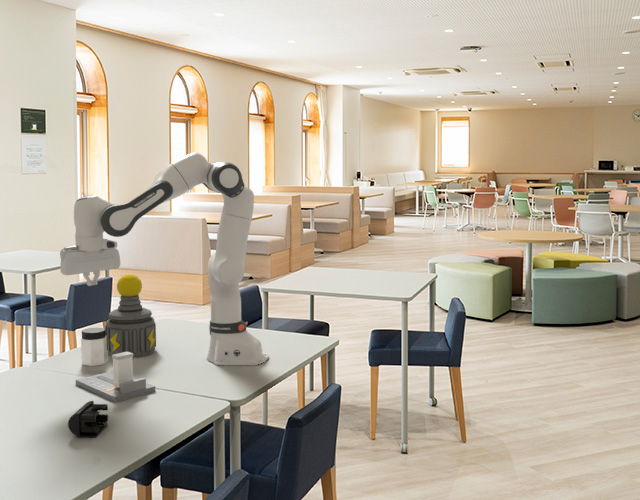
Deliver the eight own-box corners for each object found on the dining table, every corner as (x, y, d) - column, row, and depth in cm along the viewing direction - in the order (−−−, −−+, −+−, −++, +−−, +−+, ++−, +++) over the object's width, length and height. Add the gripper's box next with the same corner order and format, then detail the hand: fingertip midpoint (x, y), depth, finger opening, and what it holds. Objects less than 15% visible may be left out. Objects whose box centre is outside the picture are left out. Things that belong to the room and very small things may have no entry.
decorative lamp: (94, 355, 252) (91, 276, 248) (126, 343, 269) (123, 269, 266) (137, 361, 245) (134, 279, 242) (166, 348, 263) (164, 272, 259)
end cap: (83, 424, 185) (82, 400, 184) (108, 424, 185) (108, 400, 184) (68, 438, 175) (67, 413, 174) (95, 439, 175) (94, 413, 174)
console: (75, 384, 218) (75, 370, 218) (114, 375, 228) (114, 361, 228) (115, 402, 202) (114, 387, 202) (155, 391, 212) (155, 377, 212)
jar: (85, 367, 237) (83, 334, 236) (79, 362, 244) (77, 329, 242) (110, 363, 242) (109, 330, 240) (104, 358, 249) (103, 326, 247)
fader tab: (112, 386, 211) (111, 354, 210) (128, 382, 215) (127, 351, 213) (118, 388, 208) (117, 357, 207) (134, 384, 212) (133, 353, 211)
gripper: (64, 248, 217) (67, 290, 219) (121, 242, 232) (123, 282, 233) (55, 246, 221) (58, 288, 223) (111, 241, 236) (114, 280, 238)
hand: (92, 285), depth 228 cm, fingers closed
